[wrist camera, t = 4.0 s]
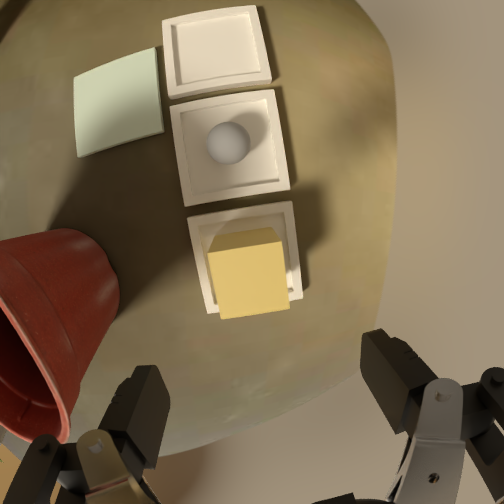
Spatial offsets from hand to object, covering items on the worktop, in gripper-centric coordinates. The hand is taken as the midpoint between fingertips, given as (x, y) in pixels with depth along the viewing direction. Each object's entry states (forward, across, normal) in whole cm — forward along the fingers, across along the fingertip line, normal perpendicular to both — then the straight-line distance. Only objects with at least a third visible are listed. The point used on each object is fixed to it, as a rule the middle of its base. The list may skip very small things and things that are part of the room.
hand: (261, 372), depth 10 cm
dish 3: (+16, 0, 0) cm, 16 cm away
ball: (+16, 0, -10) cm, 19 cm away
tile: (+16, +10, -17) cm, 26 cm away
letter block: (+16, 0, 0) cm, 16 cm away
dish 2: (+16, 0, -10) cm, 19 cm away
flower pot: (+16, +19, 0) cm, 25 cm away
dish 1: (+16, 0, -20) cm, 26 cm away
